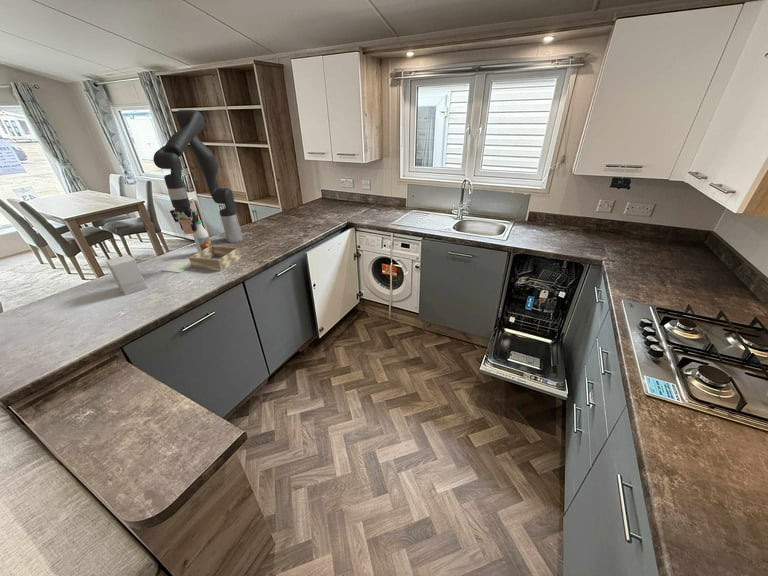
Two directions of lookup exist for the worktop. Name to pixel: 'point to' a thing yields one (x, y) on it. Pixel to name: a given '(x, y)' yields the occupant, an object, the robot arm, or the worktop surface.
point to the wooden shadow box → (204, 261)
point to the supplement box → (126, 274)
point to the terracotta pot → (186, 224)
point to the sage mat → (177, 267)
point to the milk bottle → (201, 237)
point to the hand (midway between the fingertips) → (189, 230)
